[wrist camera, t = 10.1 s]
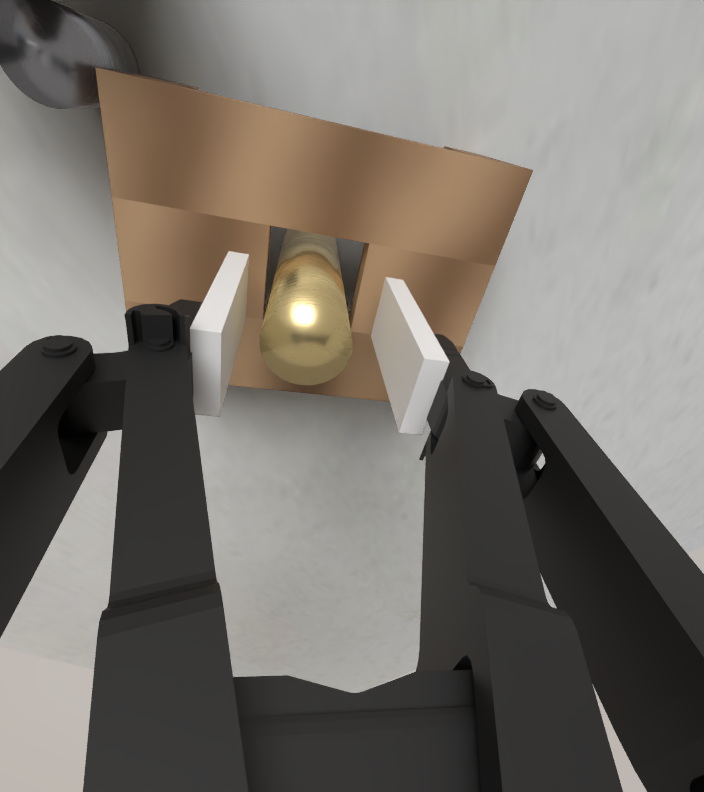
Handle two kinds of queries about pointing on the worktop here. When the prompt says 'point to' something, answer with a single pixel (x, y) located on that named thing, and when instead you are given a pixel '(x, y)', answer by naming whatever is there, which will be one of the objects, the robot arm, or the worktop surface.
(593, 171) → the worktop surface
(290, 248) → the pin long
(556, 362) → the worktop surface
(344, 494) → the worktop surface
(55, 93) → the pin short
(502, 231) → the bridge
